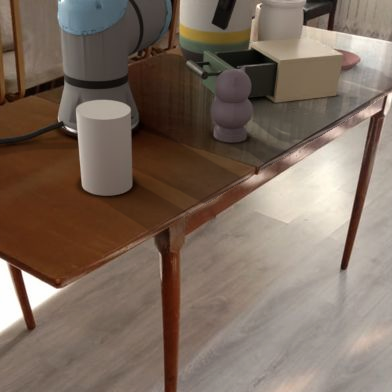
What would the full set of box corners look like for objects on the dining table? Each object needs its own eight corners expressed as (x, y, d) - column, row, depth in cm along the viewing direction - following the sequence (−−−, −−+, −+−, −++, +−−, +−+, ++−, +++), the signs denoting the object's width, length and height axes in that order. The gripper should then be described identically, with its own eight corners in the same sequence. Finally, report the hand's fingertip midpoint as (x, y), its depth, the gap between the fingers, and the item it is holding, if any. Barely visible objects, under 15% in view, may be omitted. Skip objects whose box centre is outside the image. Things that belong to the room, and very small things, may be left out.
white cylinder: (133, 173, 105) (131, 100, 97) (131, 196, 99) (129, 120, 91) (84, 172, 104) (78, 99, 96) (79, 194, 98) (72, 118, 90)
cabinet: (274, 102, 134) (280, 60, 128) (245, 82, 143) (249, 41, 137) (336, 95, 139) (343, 54, 133) (304, 76, 148) (310, 37, 142)
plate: (290, 63, 155) (291, 55, 154) (321, 52, 164) (323, 44, 162) (339, 77, 148) (340, 69, 147) (369, 66, 157) (371, 57, 155)
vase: (259, 71, 150) (271, -47, 134) (193, 76, 144) (198, -45, 129) (230, 50, 161) (238, -60, 146) (168, 55, 156) (170, -59, 141)
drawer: (204, 105, 128) (206, 70, 124) (181, 85, 137) (182, 52, 132) (287, 96, 135) (291, 62, 130) (260, 77, 143) (263, 46, 139)
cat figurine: (214, 124, 123) (218, 60, 115) (254, 130, 121) (260, 65, 114) (204, 141, 116) (207, 73, 109) (245, 147, 115) (252, 79, 107)
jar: (296, 61, 157) (305, -7, 147) (297, 74, 149) (307, 3, 140) (254, 57, 158) (260, -10, 148) (253, 70, 150) (259, 0, 140)
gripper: (276, -105, 93) (224, 47, 110) (301, -119, 101) (249, 24, 119) (231, -128, 93) (187, 27, 111) (260, -140, 101) (214, 5, 119)
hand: (219, 25), depth 115 cm, fingers closed
